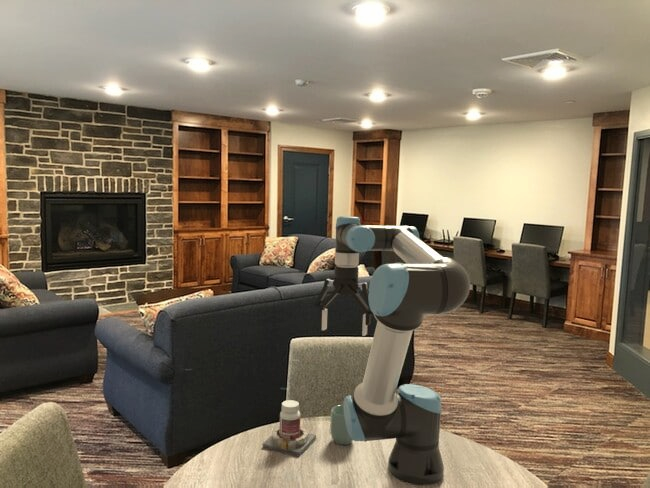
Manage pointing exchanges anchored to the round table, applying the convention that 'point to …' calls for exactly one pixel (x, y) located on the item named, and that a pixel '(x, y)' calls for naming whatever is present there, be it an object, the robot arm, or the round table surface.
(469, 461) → the round table surface
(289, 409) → the pill bottle
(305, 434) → the hub plate
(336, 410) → the cup
